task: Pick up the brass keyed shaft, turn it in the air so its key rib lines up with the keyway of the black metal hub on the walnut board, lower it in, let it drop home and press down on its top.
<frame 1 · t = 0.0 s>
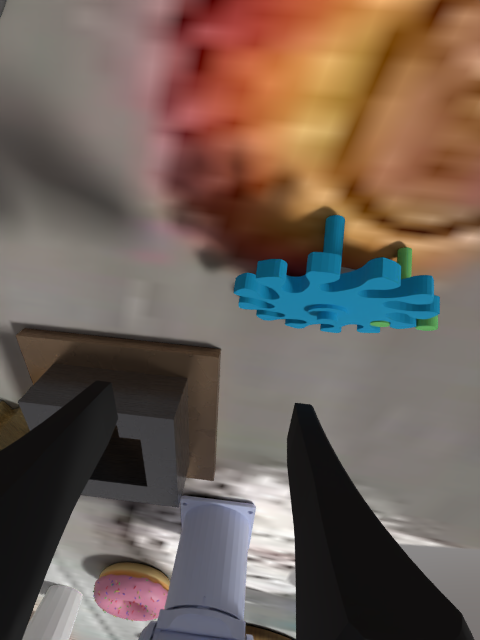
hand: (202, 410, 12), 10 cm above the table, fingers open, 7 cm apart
gear: (327, 274, 20), on the table
doughnut: (139, 573, 46), on the table
hub: (132, 409, 28), on the table
keyed shaft: (23, 425, 30), on the table
shot glass: (66, 590, 52), on the table
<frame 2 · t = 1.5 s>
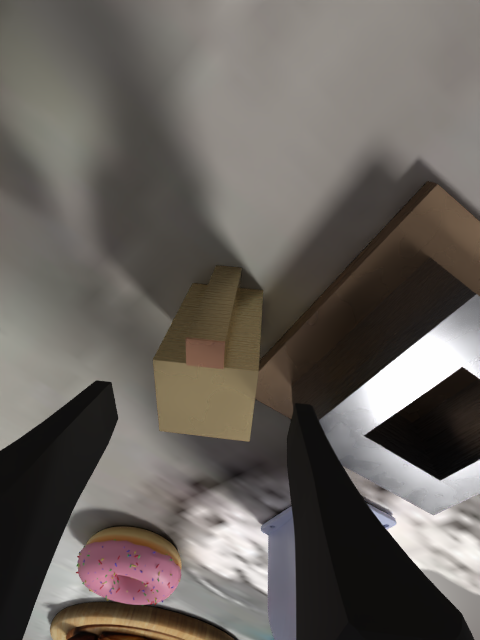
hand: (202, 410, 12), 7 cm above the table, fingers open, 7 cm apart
doughnut: (138, 543, 35), on the table
wooden plate with food: (152, 636, 52), on the table
hub: (410, 365, 19), on the table
keyed shaft: (226, 317, 19), on the table
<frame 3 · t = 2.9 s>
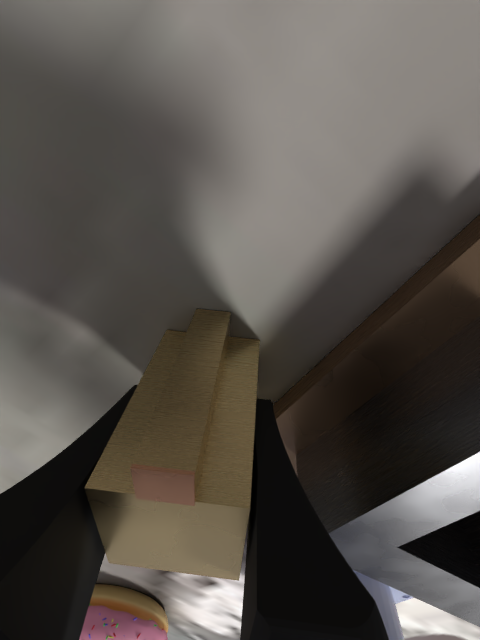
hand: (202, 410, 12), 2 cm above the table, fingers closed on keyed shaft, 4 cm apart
doughnut: (119, 598, 31), on the table
hub: (449, 429, 15), on the table
keyed shaft: (211, 370, 15), on the table, touching gripper
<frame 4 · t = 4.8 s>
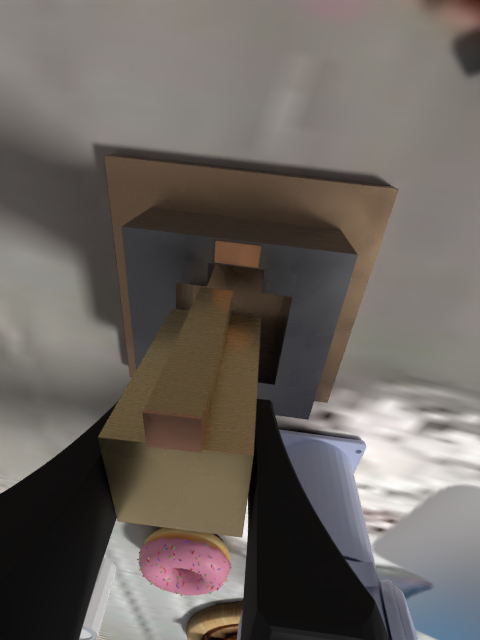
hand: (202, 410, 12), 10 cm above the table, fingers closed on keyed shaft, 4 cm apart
doughnut: (189, 540, 39), on the table
wooden plate with food: (280, 633, 54), on the table
hub: (238, 295, 21), on the table
keyed shaft: (214, 349, 15), point 7 cm above the table, touching gripper
shot glass: (97, 563, 45), on the table
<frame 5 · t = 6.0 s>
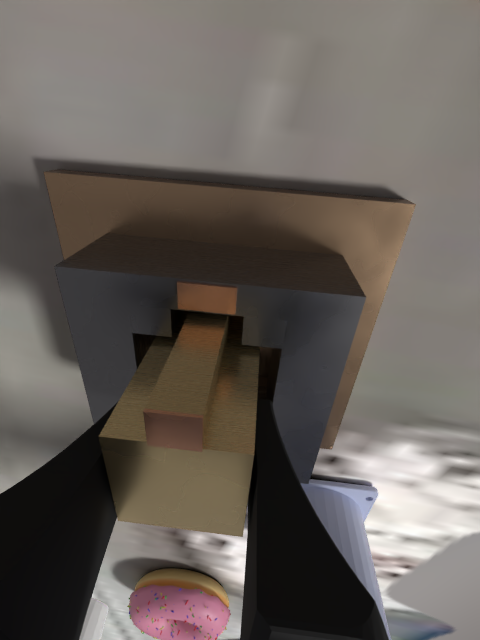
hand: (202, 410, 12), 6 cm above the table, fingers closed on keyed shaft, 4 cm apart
doughnut: (184, 582, 36), on the table
hub: (221, 330, 17), on the table
keyed shaft: (215, 349, 15), point 2 cm above the table, touching gripper
shot glass: (88, 602, 42), on the table
when the fingers open (6 cm above the table, at t = 6.7 s): keyed shaft drops 1 cm, resting on hub.
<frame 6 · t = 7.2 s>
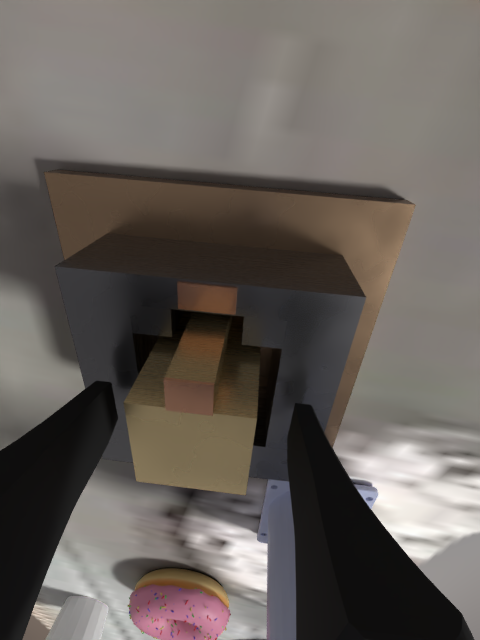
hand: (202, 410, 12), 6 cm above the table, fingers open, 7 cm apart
doughnut: (184, 582, 36), on the table
hub: (221, 330, 17), on the table
keyed shaft: (219, 335, 16), point 1 cm above the table, touching hub
shot glass: (88, 602, 42), on the table
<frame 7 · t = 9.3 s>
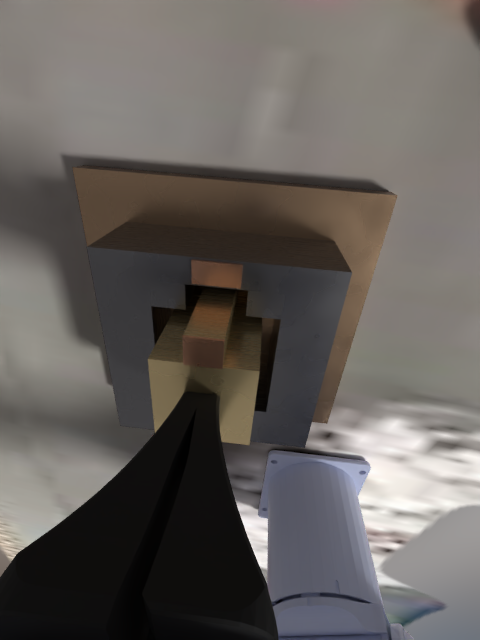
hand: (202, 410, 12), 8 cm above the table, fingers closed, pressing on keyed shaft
hub: (226, 312, 19), on the table
keyed shaft: (225, 315, 18), point 1 cm above the table, touching gripper, hub
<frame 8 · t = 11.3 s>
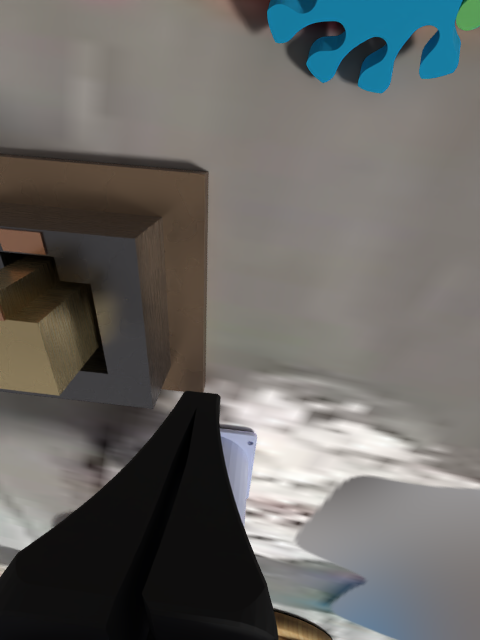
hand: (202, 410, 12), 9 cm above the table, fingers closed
wooden plate with food: (242, 634, 55), on the table
hub: (93, 286, 21), on the table
keyed shaft: (85, 288, 20), point 1 cm above the table, touching hub
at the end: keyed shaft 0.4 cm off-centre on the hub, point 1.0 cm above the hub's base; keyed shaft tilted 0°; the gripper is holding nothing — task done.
